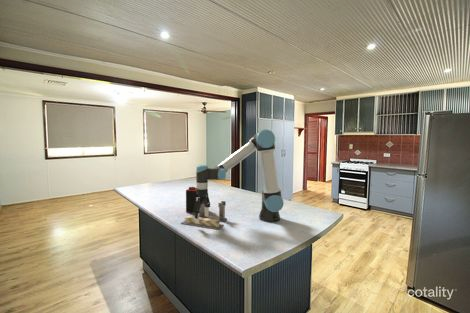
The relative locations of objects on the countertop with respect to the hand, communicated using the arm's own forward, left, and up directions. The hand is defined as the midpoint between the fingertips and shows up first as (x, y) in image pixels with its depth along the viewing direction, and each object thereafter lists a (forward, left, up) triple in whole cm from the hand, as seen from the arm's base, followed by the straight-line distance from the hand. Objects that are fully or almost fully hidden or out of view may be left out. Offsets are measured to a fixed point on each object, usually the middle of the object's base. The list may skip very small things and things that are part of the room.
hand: (202, 219), depth 153 cm
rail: (0, 0, -3) cm, 3 cm away
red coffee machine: (+18, -24, -4) cm, 30 cm away
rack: (-1, -13, -3) cm, 13 cm away
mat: (0, 0, -3) cm, 3 cm away
